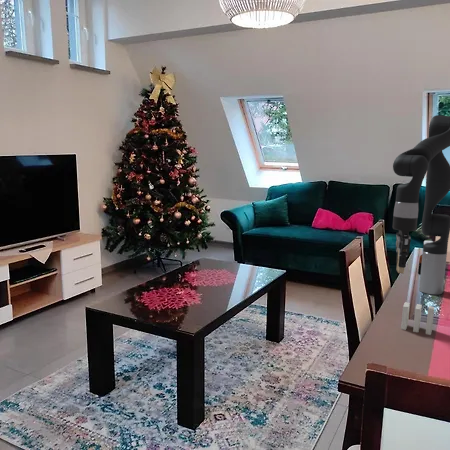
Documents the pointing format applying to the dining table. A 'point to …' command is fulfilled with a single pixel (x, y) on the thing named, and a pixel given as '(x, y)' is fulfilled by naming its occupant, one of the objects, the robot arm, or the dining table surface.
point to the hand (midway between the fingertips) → (400, 265)
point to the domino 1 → (399, 269)
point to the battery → (420, 264)
